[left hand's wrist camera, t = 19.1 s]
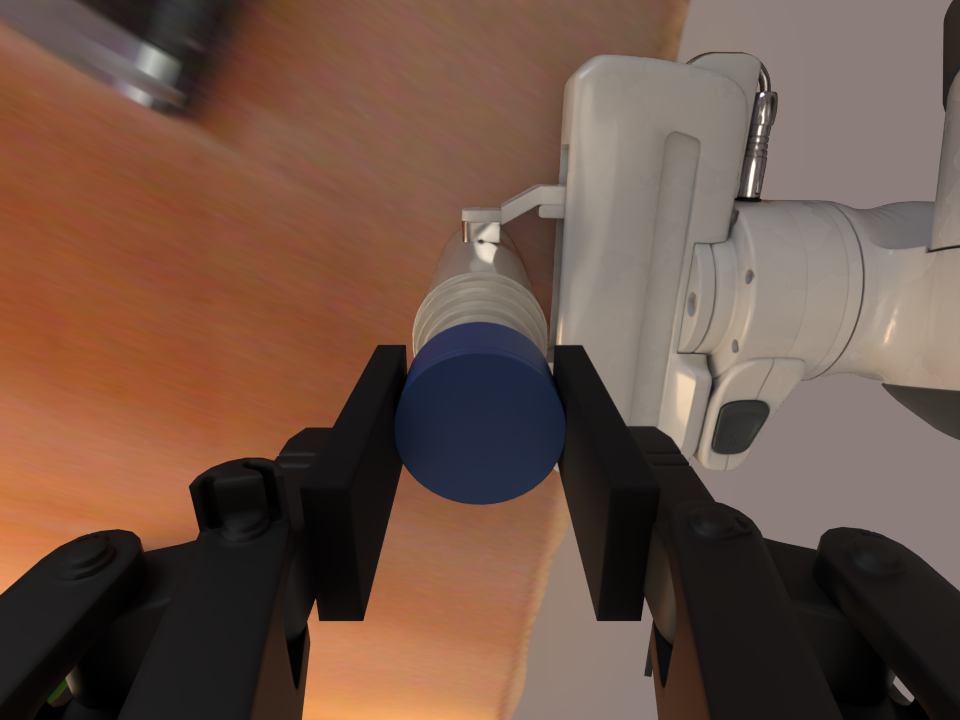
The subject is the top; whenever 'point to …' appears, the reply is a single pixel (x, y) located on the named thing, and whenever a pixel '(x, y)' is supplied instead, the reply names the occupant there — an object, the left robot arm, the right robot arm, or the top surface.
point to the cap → (479, 415)
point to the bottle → (480, 292)
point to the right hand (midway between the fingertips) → (462, 289)
